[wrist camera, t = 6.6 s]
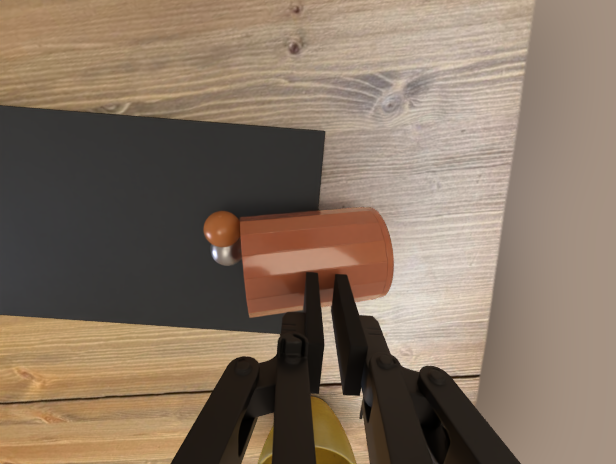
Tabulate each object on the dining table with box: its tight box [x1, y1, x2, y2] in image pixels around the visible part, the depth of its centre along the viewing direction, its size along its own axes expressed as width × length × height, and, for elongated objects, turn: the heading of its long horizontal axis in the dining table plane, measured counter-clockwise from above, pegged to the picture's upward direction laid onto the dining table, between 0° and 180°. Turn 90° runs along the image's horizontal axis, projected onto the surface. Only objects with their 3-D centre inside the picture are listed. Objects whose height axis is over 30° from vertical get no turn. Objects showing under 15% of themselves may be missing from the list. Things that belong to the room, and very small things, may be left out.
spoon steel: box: [210, 238, 242, 266], centre depth 23 cm, size 3×3×12 cm
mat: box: [0, 105, 325, 334], centre depth 26 cm, size 44×20×1 cm, turn 86°
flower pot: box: [258, 396, 356, 464], centre depth 31 cm, size 10×10×7 cm
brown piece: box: [203, 211, 240, 247], centre depth 24 cm, size 3×3×12 cm
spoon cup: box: [240, 207, 394, 318], centre depth 22 cm, size 7×7×10 cm
